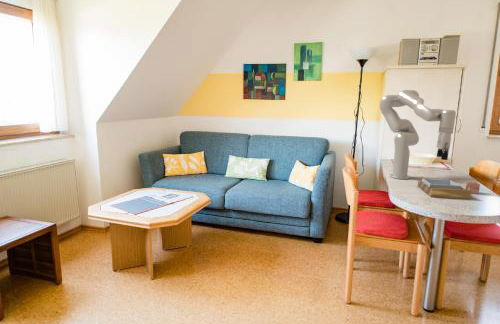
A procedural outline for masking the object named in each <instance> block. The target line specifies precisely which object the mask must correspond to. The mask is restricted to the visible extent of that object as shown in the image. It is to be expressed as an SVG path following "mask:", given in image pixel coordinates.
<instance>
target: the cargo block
mask: <svg viewBox="0 0 500 324" xmlns="http://www.w3.org/2000/svg"><path fill="white" fill-rule="evenodd" d="M480 186H481V184H480V183H478V182H476V181H466V182H465V188H464V189H466V190H471V194H470V195H479V193H480Z"/></svg>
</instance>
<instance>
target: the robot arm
mask: <svg viewBox="0 0 500 324" xmlns="http://www.w3.org/2000/svg"><path fill="white" fill-rule="evenodd" d="M424 103H425V100H424V99H423V98H422V97H420V95H419V92H418V91H416V90H414V89H404V90H401V91H399V93H398V94H387V95H385V96H382V98H381V99H380V102H379V110H380V113H381V114H382V115H383V117H384V119H385V121H386V123H387V125H388V127H389V129H390V131H391V132H392V133H395V134H396V135H395V136H394V138H393V140H394V155H393V166H392V173H390V175H389V177H390V178H393V179H397V180H408V179H410V175H408V171H409V163H410V162H409V161H410V154H411V153H410V152H411V151H410V148H409V146H410V147H411V146H416V145H418V143H419V141H420V137H419V134H418V132H417V129H416V128H415V126H414V125H413V123H412V122H411V120H409V119H407V118H401V117H400V116H399V114H398V112H397V111H396V109H394V108H401V107H404V106H407V107H409V108H410V109H412V110H413V112H414V114H415V115H416V116H417V117H419V118H421V119H423V120H424V121H427V122H439V126H438V133H439V134H438V136H437V142H436V148H437V152H436V157H437V158H441V159H440V160H442V161H447V160H448V157H449V152H450V151H449V150H450V148H451V140H452V134H453V133H454V127H455V122H456V121H455V120H456V114H457V112H456V111H455V110H453V109H443V108H441V109H440V108H430V107H428V106H426V105H424Z"/></svg>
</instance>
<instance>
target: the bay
mask: <svg viewBox="0 0 500 324" xmlns="http://www.w3.org/2000/svg"><path fill="white" fill-rule="evenodd" d="M416 187H418V188H419V189H420V190H421V191H422V192H423V193H425V195H428V196H429V197H430V198H440V199H442V198H443V199H457V200H458V199H459V200H460V199H461V200H470V199H471V195H472V194H471V190H466V189H465V188H464V187H462V186H461V190H459V189H440V188H430V187H429V186H427V185H426V184H425V183H423V182H422V180H418V181H417V186H416Z"/></svg>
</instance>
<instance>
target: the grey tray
mask: <svg viewBox="0 0 500 324" xmlns="http://www.w3.org/2000/svg"><path fill="white" fill-rule="evenodd" d="M421 181H422V182H423V183H425V184H426V185H427V186H429V187H430V188H440V189H459V190H461V187H462V185H461V184H459V183H457V182H456V181H453V180H452V179H437V178H436V179H435V178H421Z"/></svg>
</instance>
